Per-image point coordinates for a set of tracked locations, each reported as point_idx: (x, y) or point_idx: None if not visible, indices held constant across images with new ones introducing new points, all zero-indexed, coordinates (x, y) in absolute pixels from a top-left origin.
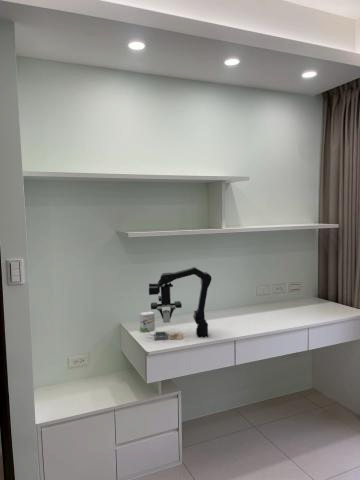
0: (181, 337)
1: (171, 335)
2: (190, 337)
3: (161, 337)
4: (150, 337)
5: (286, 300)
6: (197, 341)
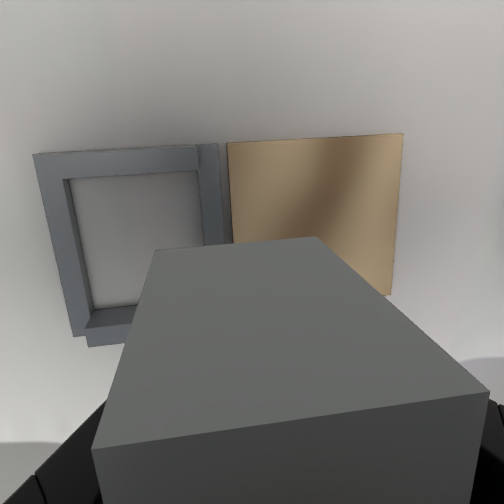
0: (377, 266)
1: (274, 198)
2: (464, 250)
3: None
4: (4, 237)
5: None
6: (494, 349)
